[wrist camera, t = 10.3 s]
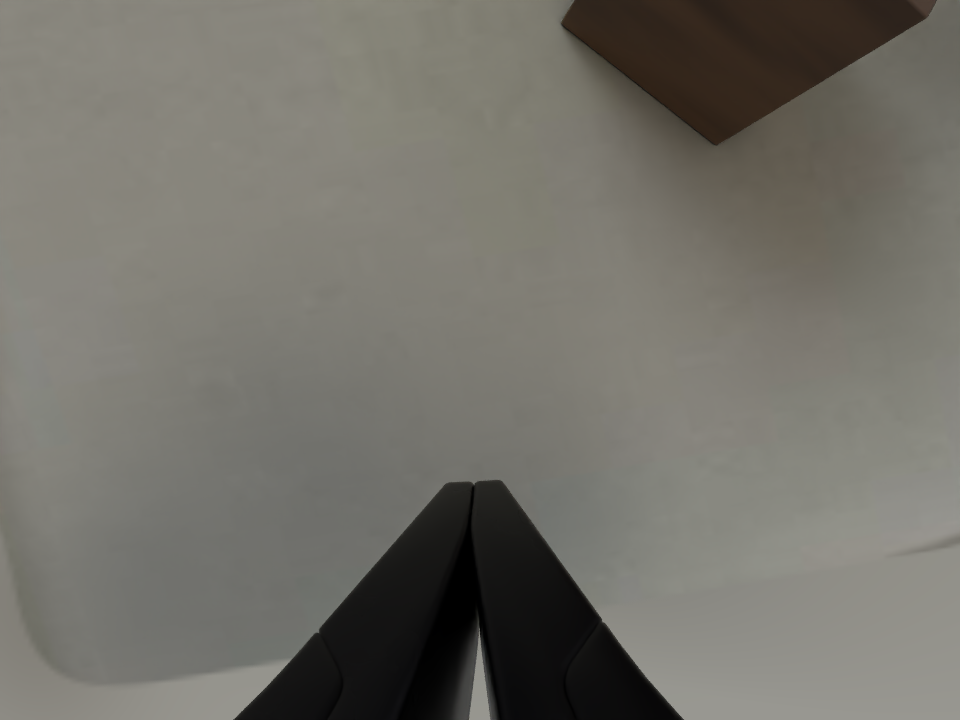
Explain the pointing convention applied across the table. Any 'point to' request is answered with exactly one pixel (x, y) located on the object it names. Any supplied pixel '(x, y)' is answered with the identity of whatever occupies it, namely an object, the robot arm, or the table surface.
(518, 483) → the table surface
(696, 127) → the walnut block
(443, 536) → the robot arm
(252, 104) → the table surface
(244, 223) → the table surface
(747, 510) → the table surface
